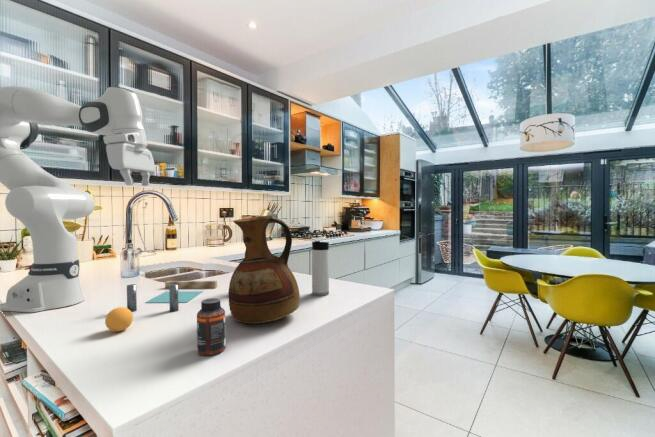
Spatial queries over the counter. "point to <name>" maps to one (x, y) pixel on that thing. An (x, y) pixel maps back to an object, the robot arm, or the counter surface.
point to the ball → (119, 319)
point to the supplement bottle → (211, 327)
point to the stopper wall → (192, 284)
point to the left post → (131, 297)
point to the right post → (173, 297)
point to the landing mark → (182, 297)
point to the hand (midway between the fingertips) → (138, 185)
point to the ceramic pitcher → (262, 276)
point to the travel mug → (320, 268)
